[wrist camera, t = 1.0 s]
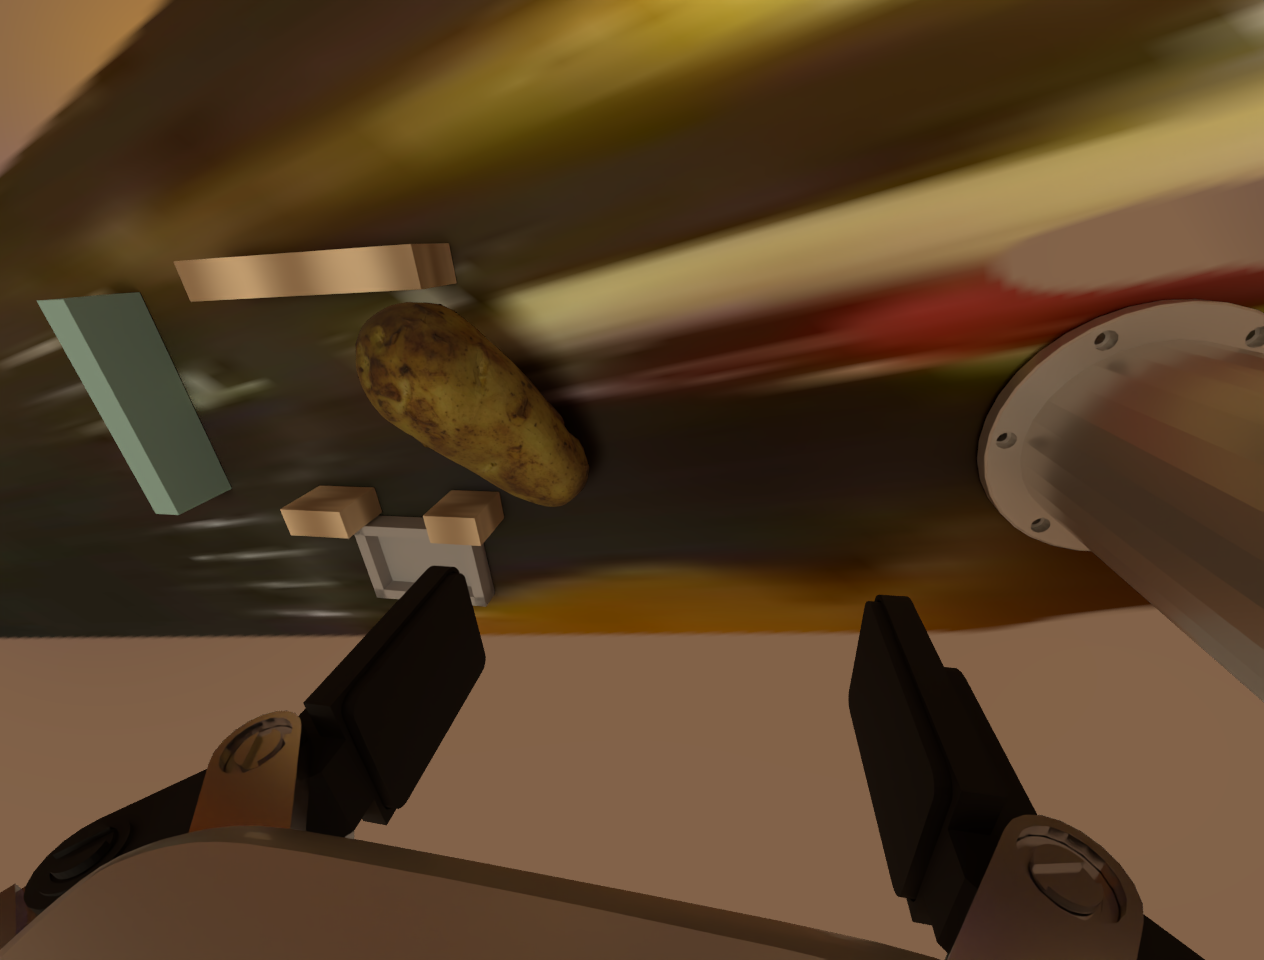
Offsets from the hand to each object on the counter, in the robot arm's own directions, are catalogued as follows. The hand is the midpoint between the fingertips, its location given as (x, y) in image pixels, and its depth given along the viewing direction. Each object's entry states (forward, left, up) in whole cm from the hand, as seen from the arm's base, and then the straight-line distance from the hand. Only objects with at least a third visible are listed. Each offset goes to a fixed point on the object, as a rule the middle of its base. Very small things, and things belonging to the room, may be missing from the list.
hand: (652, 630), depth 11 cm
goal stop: (+36, 0, -18) cm, 41 cm away
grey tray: (+20, +12, -18) cm, 30 cm away
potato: (+11, 0, -19) cm, 22 cm away
